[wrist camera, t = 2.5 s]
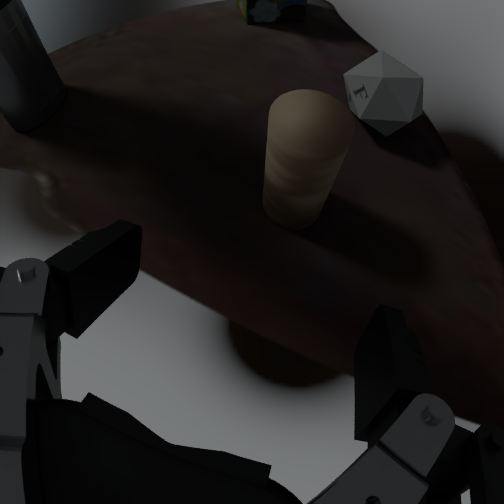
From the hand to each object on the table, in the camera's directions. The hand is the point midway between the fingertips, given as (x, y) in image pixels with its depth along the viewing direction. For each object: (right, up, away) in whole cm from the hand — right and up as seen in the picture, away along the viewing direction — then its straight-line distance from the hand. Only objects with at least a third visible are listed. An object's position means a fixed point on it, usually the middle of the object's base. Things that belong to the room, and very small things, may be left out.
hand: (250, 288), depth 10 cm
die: (+14, +16, +22) cm, 30 cm away
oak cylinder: (+4, +5, +18) cm, 19 cm away
